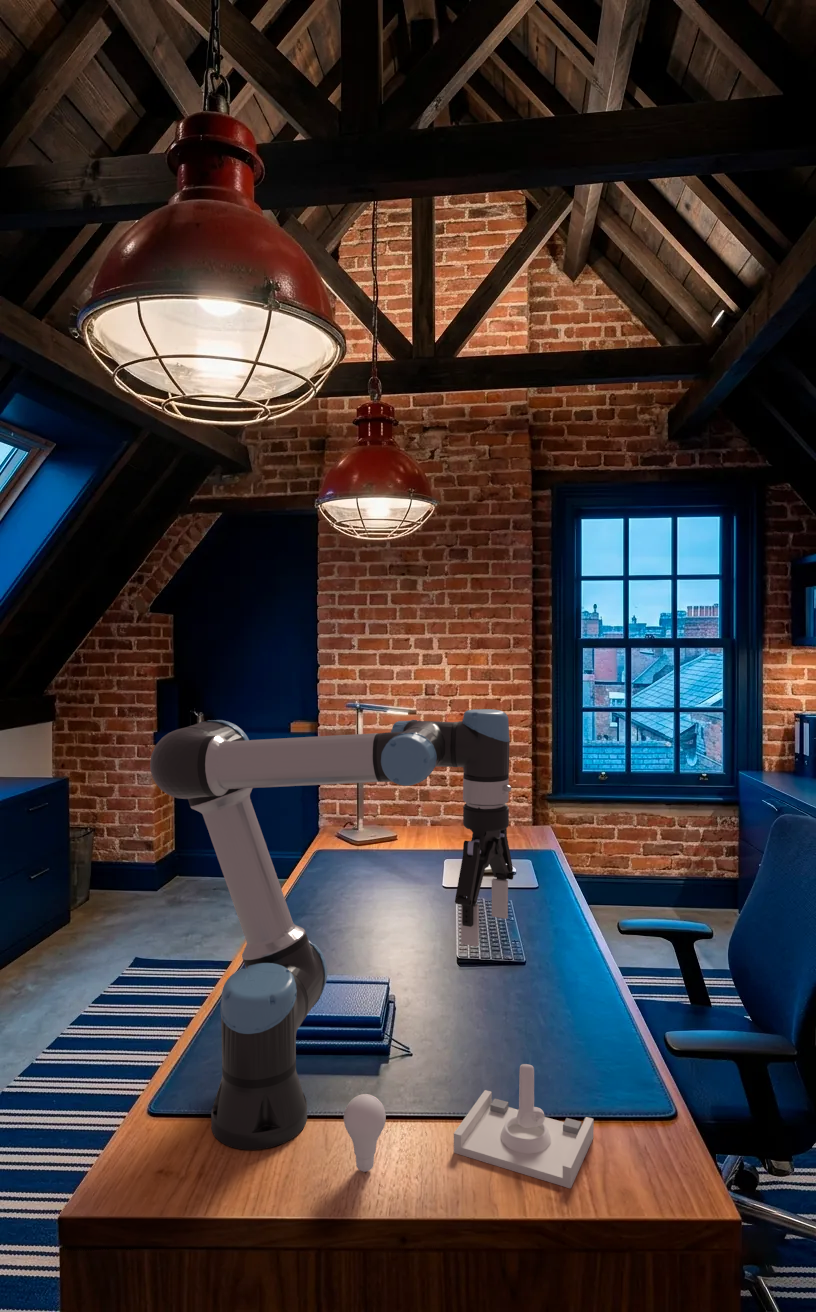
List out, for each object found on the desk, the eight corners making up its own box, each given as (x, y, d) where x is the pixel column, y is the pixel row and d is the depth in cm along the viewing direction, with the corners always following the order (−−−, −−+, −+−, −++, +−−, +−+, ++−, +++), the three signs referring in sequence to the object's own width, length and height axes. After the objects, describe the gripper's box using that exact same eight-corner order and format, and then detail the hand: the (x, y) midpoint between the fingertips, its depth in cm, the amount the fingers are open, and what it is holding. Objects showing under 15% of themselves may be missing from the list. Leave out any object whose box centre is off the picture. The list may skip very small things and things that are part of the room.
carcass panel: (453, 1152, 127) (453, 1133, 127) (484, 1107, 139) (484, 1089, 139) (570, 1188, 119) (570, 1168, 119) (593, 1137, 131) (593, 1118, 131)
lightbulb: (391, 1162, 125) (391, 1089, 124) (376, 1188, 119) (376, 1112, 119) (353, 1153, 127) (353, 1082, 126) (337, 1179, 121) (337, 1104, 121)
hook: (536, 1072, 138) (555, 1066, 132) (539, 1157, 131) (559, 1155, 125) (494, 1068, 136) (511, 1062, 130) (495, 1154, 129) (513, 1151, 124)
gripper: (479, 822, 126) (478, 961, 127) (531, 791, 148) (530, 910, 149) (433, 817, 129) (433, 952, 130) (491, 787, 152) (490, 903, 153)
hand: (485, 930), depth 140 cm, fingers open, 13 cm apart
